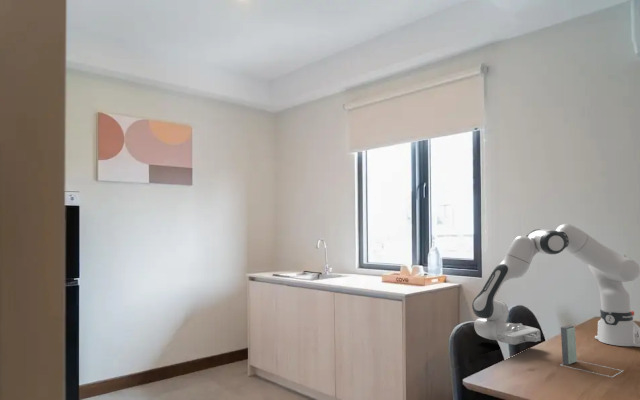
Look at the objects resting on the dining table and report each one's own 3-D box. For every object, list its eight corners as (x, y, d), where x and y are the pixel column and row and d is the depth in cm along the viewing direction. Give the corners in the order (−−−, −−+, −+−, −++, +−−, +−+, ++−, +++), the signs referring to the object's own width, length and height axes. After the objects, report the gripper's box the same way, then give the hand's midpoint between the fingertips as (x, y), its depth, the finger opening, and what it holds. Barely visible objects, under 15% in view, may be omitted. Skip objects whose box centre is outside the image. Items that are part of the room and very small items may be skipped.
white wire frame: (571, 359, 175) (623, 370, 161) (571, 360, 175) (623, 372, 161) (559, 364, 169) (612, 377, 155) (559, 366, 169) (612, 378, 155)
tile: (570, 360, 174) (568, 325, 175) (577, 362, 172) (575, 326, 173) (562, 363, 171) (560, 327, 172) (569, 365, 169) (567, 328, 170)
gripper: (493, 329, 188) (523, 335, 176) (521, 322, 199) (551, 328, 188) (494, 344, 188) (524, 351, 176) (522, 336, 199) (552, 343, 187)
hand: (538, 339), depth 182 cm, fingers closed
